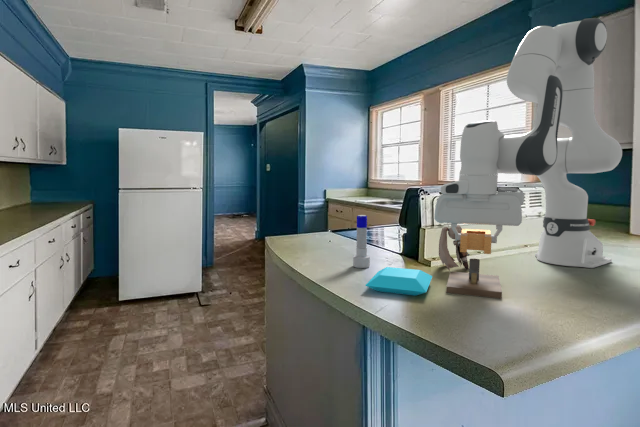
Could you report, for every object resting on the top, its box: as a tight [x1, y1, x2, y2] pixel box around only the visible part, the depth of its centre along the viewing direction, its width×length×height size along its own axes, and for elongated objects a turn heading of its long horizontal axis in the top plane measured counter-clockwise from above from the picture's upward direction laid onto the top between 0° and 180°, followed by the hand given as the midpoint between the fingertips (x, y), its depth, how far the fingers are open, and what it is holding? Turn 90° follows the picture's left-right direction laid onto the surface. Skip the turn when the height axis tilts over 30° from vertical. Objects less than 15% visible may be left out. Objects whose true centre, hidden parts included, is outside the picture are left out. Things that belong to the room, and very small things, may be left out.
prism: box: [364, 266, 433, 296], centre depth 96 cm, size 14×14×5 cm
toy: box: [438, 223, 471, 271], centre depth 115 cm, size 9×8×15 cm
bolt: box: [352, 214, 371, 269], centre depth 117 cm, size 16×5×5 cm
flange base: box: [445, 258, 503, 299], centre depth 97 cm, size 15×12×6 cm
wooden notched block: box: [460, 228, 492, 255], centre depth 98 cm, size 12×7×4 cm, turn 158°
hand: (475, 241), depth 98 cm, fingers closed on wooden notched block, 7 cm apart
